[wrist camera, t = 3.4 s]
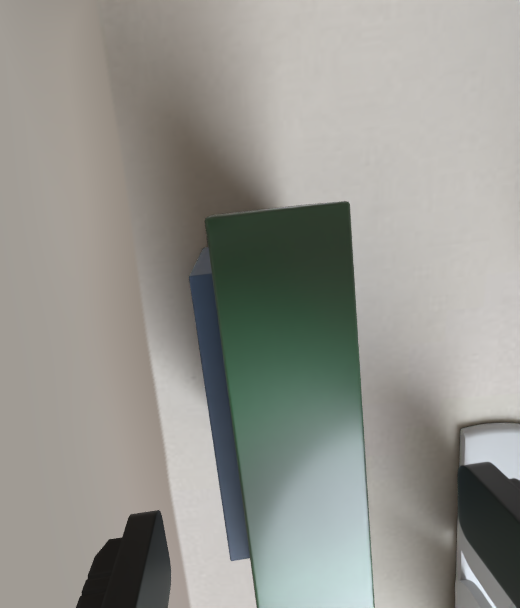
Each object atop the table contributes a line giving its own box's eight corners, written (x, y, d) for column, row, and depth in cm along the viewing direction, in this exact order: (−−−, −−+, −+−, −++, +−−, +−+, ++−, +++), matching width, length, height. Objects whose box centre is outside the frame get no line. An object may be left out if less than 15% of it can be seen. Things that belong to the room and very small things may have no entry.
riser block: (202, 247, 27) (188, 276, 15) (291, 237, 27) (344, 257, 16) (226, 422, 30) (230, 561, 18) (307, 411, 30) (363, 540, 18)
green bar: (209, 215, 15) (204, 217, 10) (312, 204, 15) (350, 200, 11) (259, 597, 18) (272, 722, 14) (342, 583, 19) (381, 701, 14)
